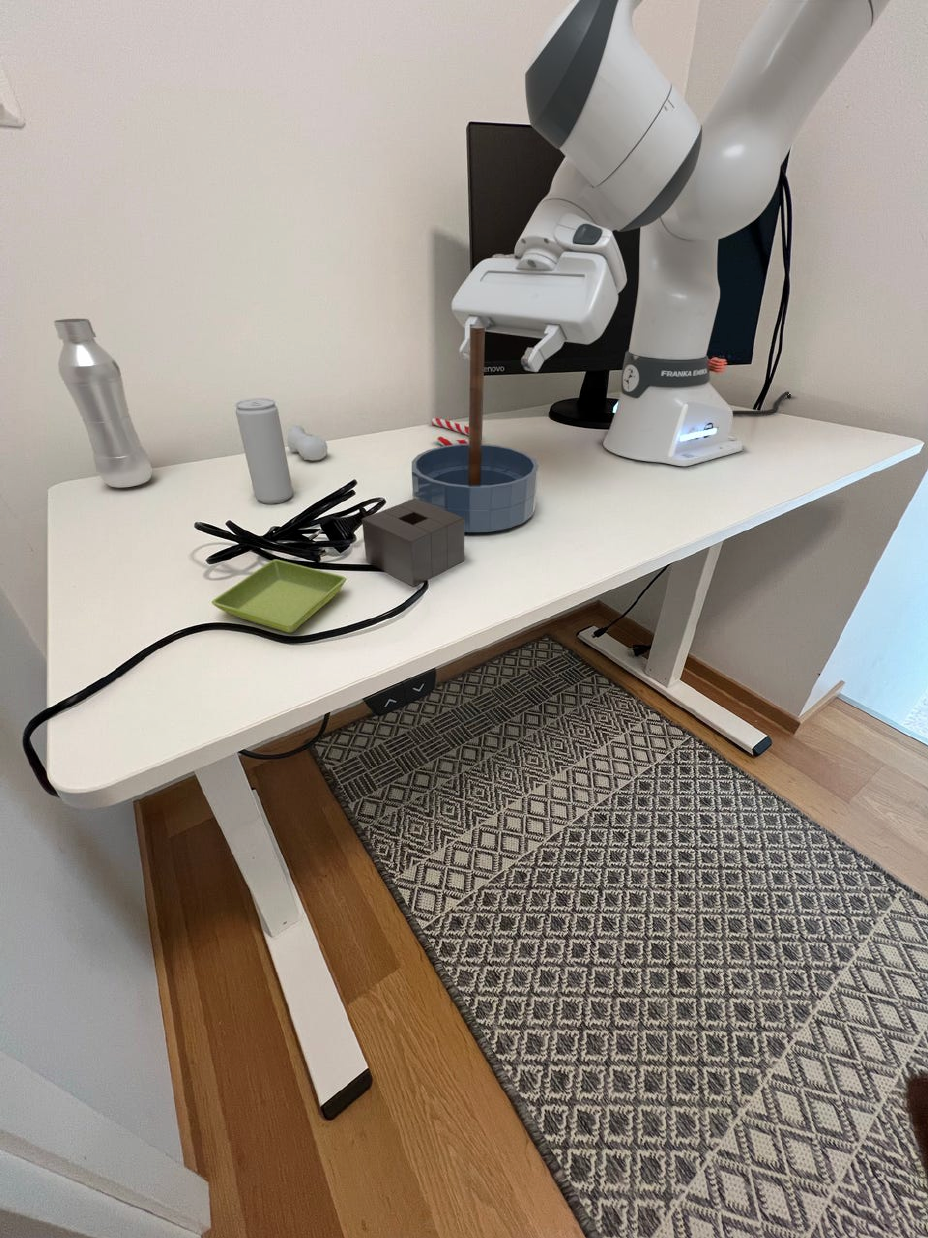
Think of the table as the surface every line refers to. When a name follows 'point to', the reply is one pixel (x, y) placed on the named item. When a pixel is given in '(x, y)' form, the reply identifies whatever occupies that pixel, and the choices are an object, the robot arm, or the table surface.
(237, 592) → the saucer
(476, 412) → the stick
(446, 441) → the candy cane
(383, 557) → the holder
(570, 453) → the table surface
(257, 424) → the beverage can
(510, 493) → the bowl
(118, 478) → the plastic bottle
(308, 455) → the smooth white sculpture
